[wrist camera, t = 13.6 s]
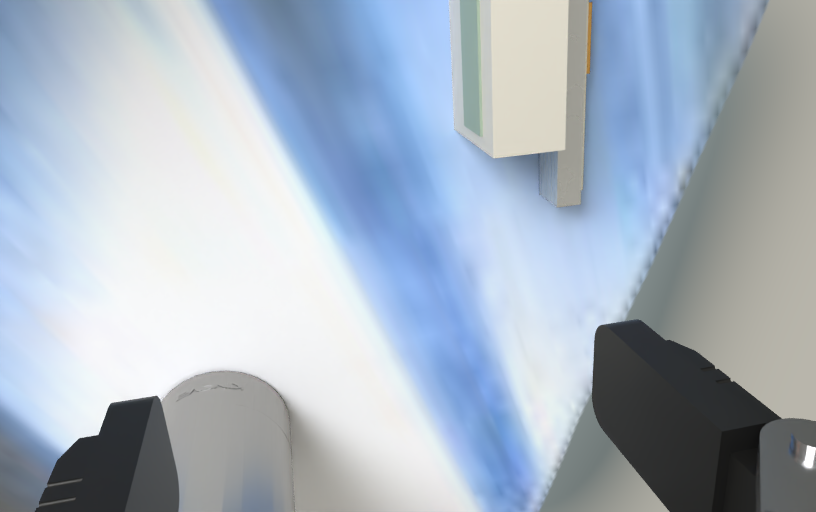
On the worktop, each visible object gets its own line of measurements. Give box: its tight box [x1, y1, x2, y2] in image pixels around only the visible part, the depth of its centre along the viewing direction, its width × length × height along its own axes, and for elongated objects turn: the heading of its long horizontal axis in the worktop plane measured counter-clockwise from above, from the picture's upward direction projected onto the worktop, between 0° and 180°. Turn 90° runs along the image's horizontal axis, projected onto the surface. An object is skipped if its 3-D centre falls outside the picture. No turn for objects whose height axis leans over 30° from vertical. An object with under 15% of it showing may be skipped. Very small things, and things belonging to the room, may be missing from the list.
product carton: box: [449, 0, 569, 158], centre depth 37 cm, size 4×10×8 cm, turn 4°
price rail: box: [539, 0, 592, 207], centre depth 40 cm, size 20×2×3 cm, turn 4°
